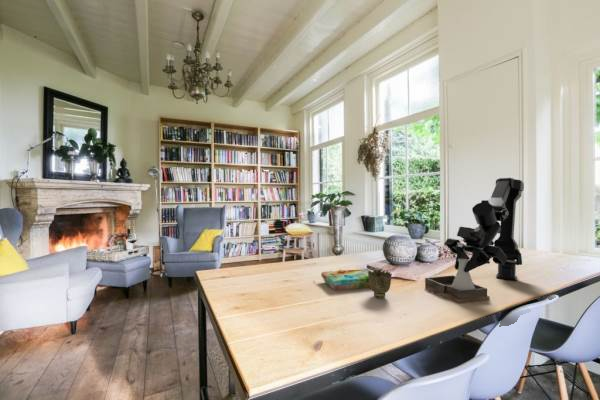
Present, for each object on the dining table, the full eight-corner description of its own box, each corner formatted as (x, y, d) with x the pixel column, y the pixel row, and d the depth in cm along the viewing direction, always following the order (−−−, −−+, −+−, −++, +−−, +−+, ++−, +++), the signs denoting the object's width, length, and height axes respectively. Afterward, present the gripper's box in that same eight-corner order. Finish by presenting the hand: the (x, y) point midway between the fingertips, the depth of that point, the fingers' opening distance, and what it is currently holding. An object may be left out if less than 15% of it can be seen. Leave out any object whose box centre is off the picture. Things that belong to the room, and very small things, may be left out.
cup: (378, 302, 88) (379, 276, 87) (363, 295, 94) (363, 271, 94) (396, 298, 91) (396, 273, 91) (380, 291, 98) (380, 268, 97)
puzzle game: (321, 270, 108) (367, 266, 114) (321, 282, 108) (367, 278, 114) (333, 279, 97) (384, 274, 103) (333, 292, 97) (384, 287, 103)
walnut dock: (425, 287, 101) (425, 277, 101) (452, 285, 105) (452, 275, 104) (458, 303, 87) (458, 291, 87) (489, 299, 90) (489, 288, 90)
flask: (472, 287, 95) (473, 257, 95) (478, 295, 88) (479, 263, 88) (448, 285, 98) (449, 256, 97) (452, 292, 91) (453, 261, 90)
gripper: (448, 215, 102) (424, 248, 99) (501, 220, 85) (474, 260, 81) (464, 236, 105) (441, 268, 102) (518, 245, 88) (493, 284, 84)
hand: (460, 270), depth 92 cm, fingers closed on flask, 3 cm apart
